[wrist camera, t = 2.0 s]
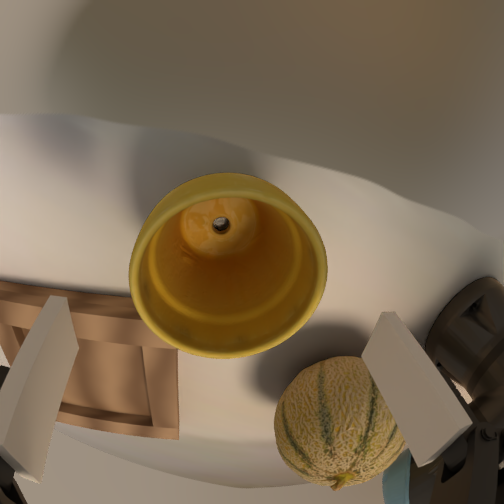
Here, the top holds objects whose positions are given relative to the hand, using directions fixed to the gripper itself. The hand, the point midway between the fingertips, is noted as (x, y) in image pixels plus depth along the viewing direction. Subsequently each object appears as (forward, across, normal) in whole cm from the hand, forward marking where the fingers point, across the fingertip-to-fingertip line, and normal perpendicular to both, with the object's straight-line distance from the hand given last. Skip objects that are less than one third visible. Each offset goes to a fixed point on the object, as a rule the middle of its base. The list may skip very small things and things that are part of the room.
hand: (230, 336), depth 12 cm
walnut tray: (+13, +13, +18) cm, 26 cm away
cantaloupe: (+13, -14, +18) cm, 27 cm away
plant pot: (+14, 0, 0) cm, 14 cm away
